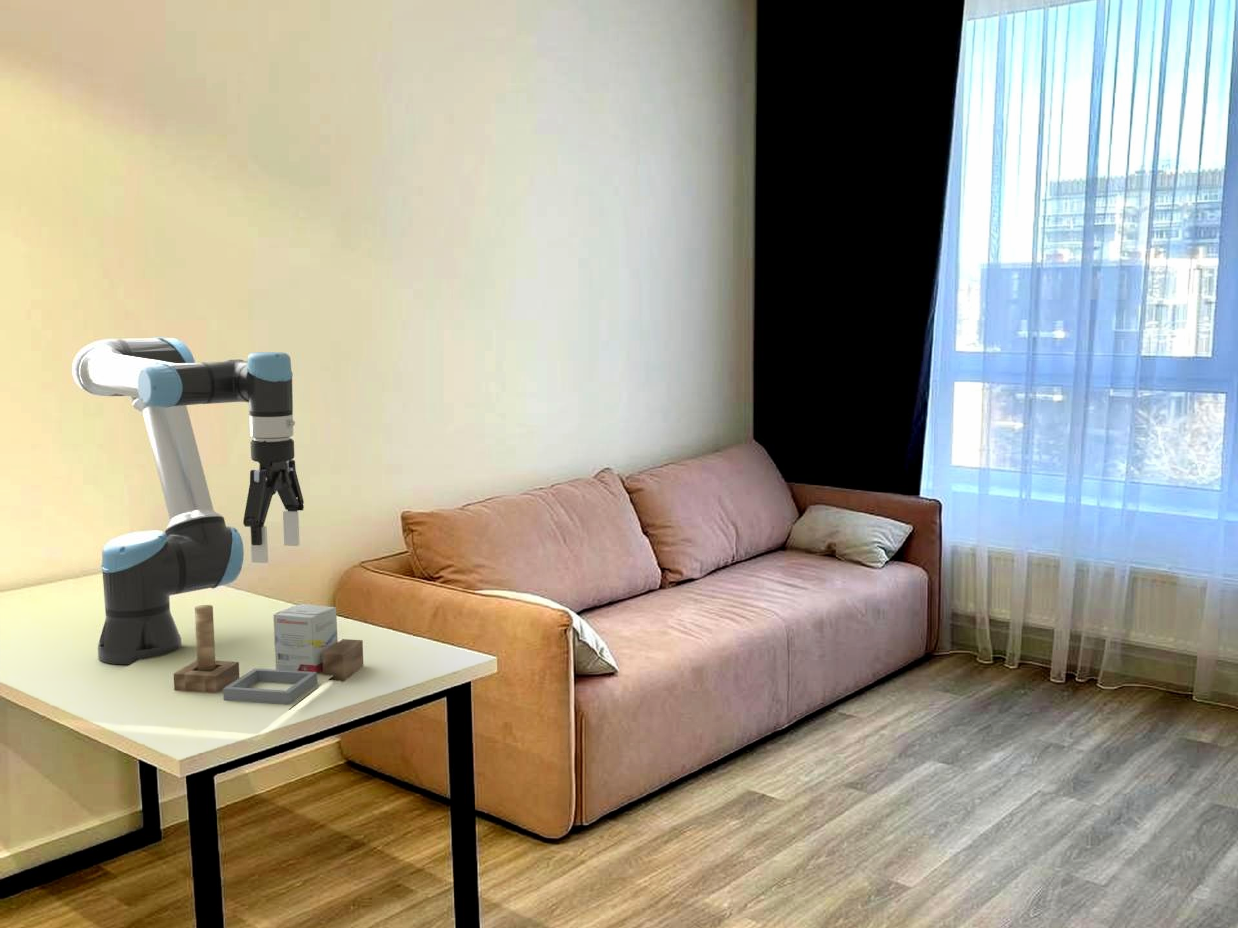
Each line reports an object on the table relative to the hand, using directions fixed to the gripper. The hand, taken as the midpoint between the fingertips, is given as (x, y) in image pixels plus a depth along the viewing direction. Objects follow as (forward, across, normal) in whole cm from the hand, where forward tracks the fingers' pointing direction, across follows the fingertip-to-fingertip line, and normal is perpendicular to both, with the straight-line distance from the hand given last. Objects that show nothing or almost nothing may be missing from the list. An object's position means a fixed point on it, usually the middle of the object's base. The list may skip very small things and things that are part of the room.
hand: (276, 553), depth 211 cm
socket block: (+23, -11, +9) cm, 27 cm away
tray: (+22, -13, -4) cm, 26 cm away
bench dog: (+22, +2, -12) cm, 25 cm away
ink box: (+23, +2, -4) cm, 23 cm away
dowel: (+22, -11, +9) cm, 26 cm away
